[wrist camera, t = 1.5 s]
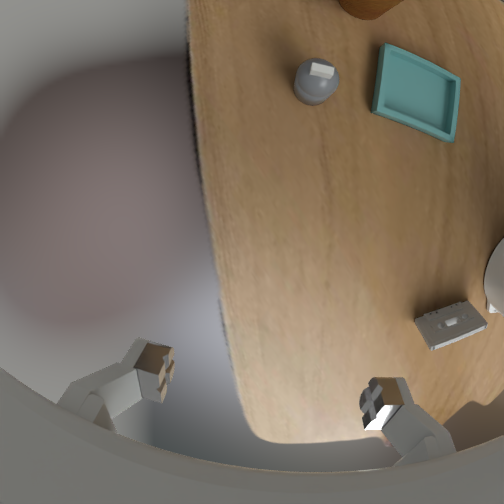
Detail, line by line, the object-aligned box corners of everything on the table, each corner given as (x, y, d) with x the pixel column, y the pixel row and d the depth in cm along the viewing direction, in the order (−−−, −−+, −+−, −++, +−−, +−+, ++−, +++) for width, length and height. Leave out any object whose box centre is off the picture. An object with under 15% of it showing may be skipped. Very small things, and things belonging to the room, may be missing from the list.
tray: (452, 80, 25) (460, 78, 23) (444, 142, 29) (453, 142, 27) (379, 47, 25) (385, 42, 23) (370, 112, 29) (376, 111, 27)
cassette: (468, 297, 37) (489, 321, 30) (467, 305, 38) (487, 329, 31) (414, 316, 40) (431, 344, 33) (413, 324, 40) (429, 353, 33)
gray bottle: (331, 77, 28) (349, 54, 19) (325, 109, 30) (343, 96, 21) (296, 70, 28) (301, 43, 19) (290, 101, 30) (294, 84, 21)
